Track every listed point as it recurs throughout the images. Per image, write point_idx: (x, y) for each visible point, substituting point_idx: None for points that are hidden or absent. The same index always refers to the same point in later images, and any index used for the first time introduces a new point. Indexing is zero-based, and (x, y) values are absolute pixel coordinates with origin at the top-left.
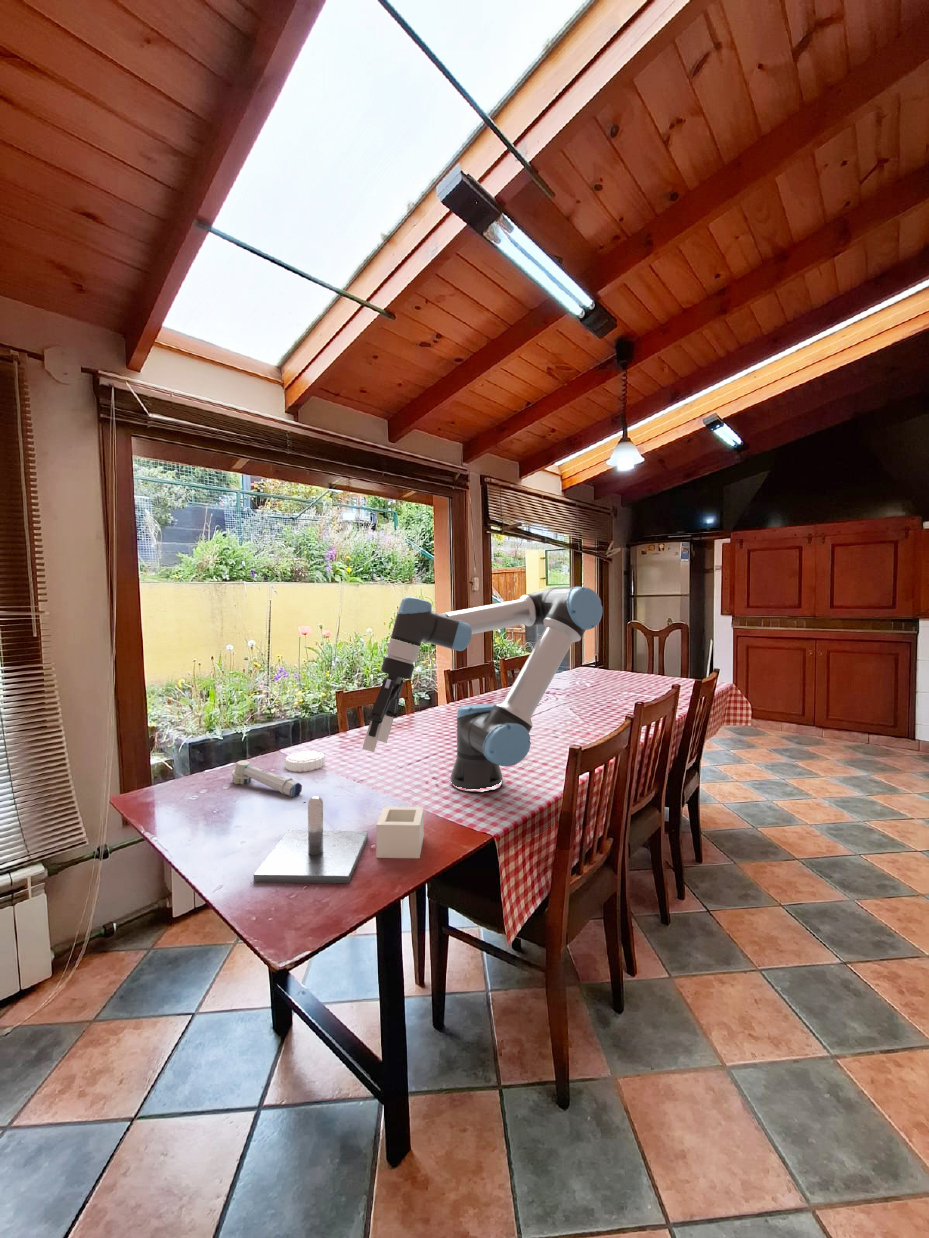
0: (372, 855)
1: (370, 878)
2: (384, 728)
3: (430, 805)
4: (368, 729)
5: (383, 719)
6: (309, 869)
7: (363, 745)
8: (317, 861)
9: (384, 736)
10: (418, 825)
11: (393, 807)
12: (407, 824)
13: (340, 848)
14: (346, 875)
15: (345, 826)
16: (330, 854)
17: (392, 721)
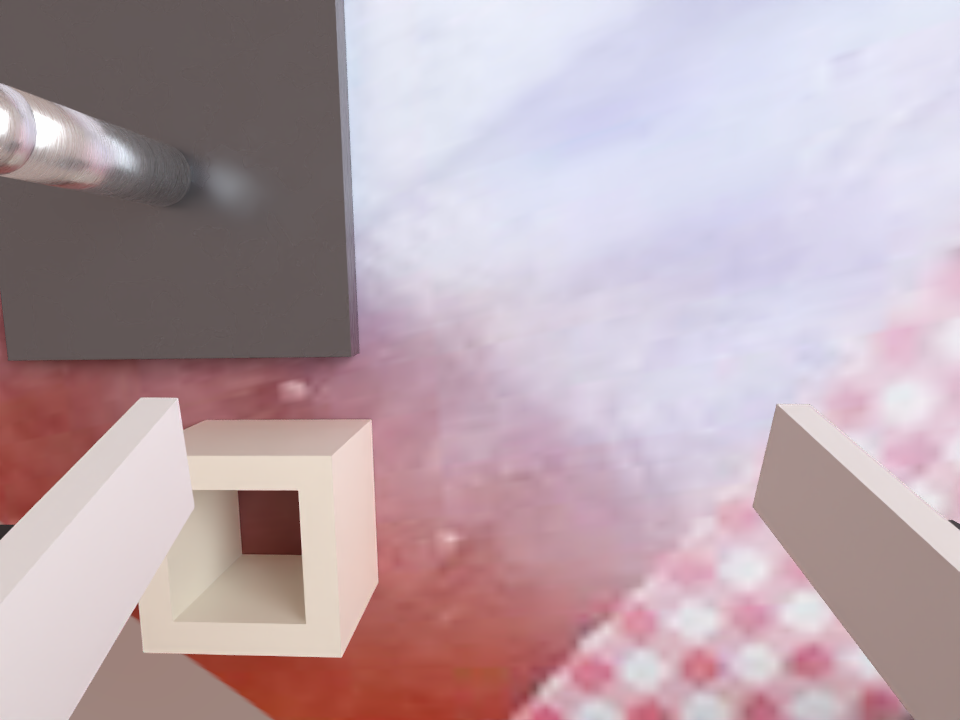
0: (221, 401)
1: (71, 425)
2: (851, 546)
3: (708, 590)
4: (9, 539)
5: (948, 589)
6: (28, 199)
7: (124, 416)
8: (85, 211)
9: (791, 510)
10: (144, 646)
11: (324, 507)
12: (145, 597)
13: (192, 275)
14: (9, 352)
15: (462, 223)
16: (143, 247)
17: (918, 711)
